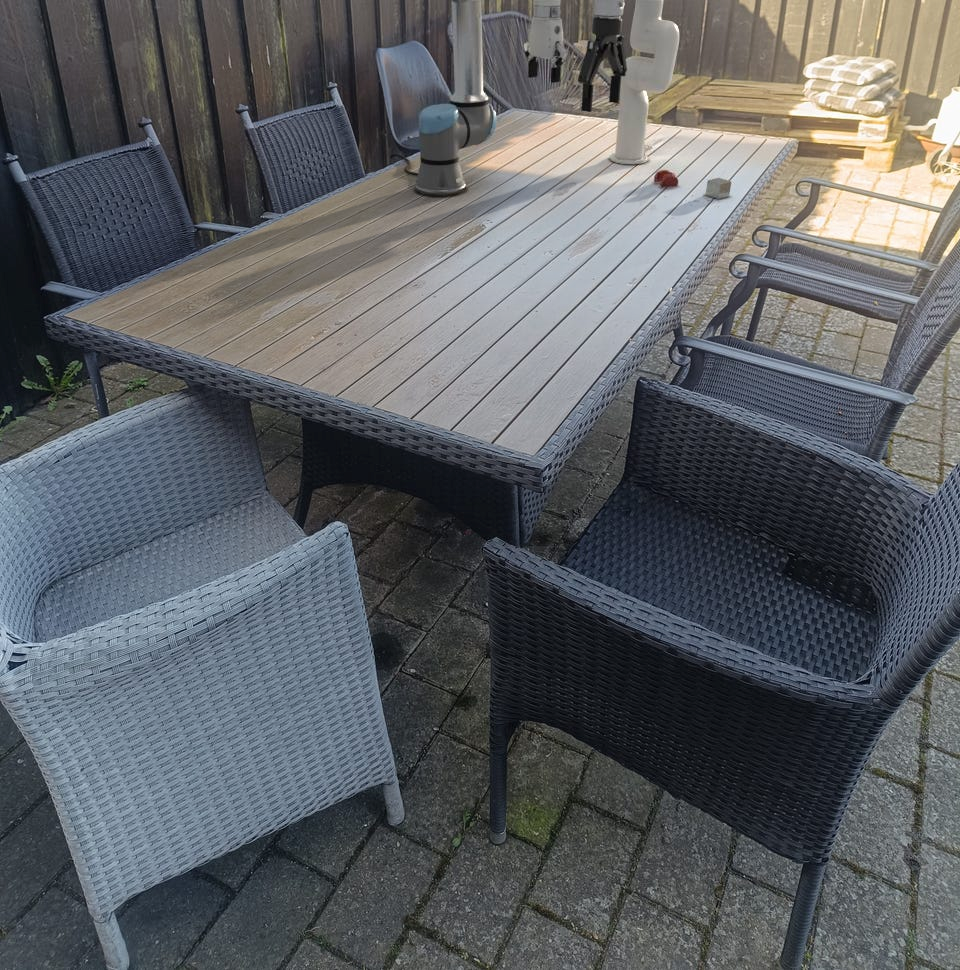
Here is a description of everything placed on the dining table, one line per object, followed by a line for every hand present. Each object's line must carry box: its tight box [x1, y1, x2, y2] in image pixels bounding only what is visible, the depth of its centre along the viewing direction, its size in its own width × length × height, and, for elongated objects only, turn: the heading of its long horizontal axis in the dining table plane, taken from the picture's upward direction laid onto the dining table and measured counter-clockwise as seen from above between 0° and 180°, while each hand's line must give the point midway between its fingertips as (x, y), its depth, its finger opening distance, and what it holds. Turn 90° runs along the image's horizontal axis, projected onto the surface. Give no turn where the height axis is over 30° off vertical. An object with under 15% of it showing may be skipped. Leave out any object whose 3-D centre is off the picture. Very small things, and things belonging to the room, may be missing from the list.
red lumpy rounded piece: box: [653, 169, 679, 188], centre depth 261 cm, size 6×4×8 cm
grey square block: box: [705, 177, 732, 200], centre depth 252 cm, size 5×5×4 cm
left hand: (600, 106), depth 225 cm, fingers open, 13 cm apart
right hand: (543, 79), depth 244 cm, fingers open, 9 cm apart
